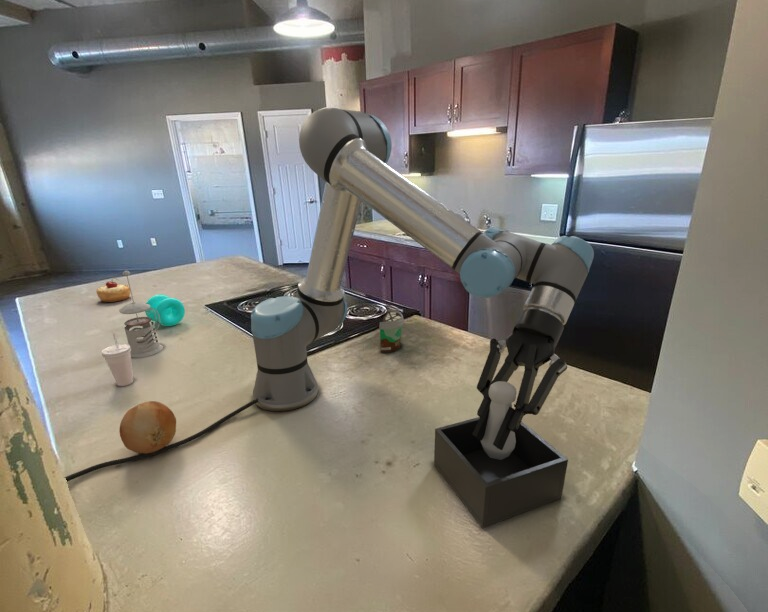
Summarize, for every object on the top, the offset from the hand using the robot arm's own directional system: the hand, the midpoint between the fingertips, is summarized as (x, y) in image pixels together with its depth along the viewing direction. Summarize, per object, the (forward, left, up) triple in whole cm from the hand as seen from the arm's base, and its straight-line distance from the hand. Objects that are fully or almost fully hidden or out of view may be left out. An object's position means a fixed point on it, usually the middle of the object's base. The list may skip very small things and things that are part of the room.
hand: (487, 442), depth 67 cm
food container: (+9, +61, -11) cm, 62 cm away
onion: (-54, +36, -11) cm, 65 cm away
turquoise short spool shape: (-57, +112, -11) cm, 126 cm away
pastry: (-80, +153, -11) cm, 172 cm away
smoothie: (-64, +69, -11) cm, 94 cm away
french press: (-61, +90, -11) cm, 109 cm away
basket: (+3, +2, -10) cm, 11 cm away
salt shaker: (+3, +2, -4) cm, 6 cm away
